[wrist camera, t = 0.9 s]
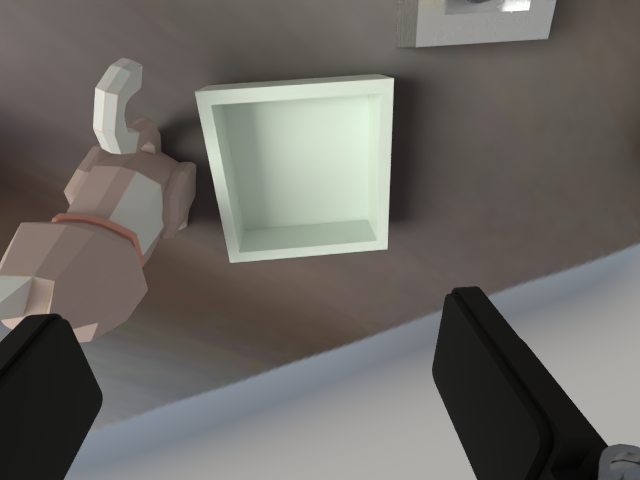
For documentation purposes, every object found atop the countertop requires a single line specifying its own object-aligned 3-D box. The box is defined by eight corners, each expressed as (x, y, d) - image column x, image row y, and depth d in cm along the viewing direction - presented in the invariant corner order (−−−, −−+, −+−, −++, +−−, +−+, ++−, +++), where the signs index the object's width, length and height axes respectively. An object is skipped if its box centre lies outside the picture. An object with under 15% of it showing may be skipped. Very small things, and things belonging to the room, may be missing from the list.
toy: (95, 226, 37) (-82, 390, 19) (110, 36, 29) (-160, 18, 12) (184, 249, 39) (99, 415, 21) (221, 76, 31) (135, 113, 14)
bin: (209, 85, 31) (194, 91, 27) (378, 73, 32) (394, 78, 27) (237, 235, 38) (230, 262, 34) (375, 224, 39) (387, 249, 34)
